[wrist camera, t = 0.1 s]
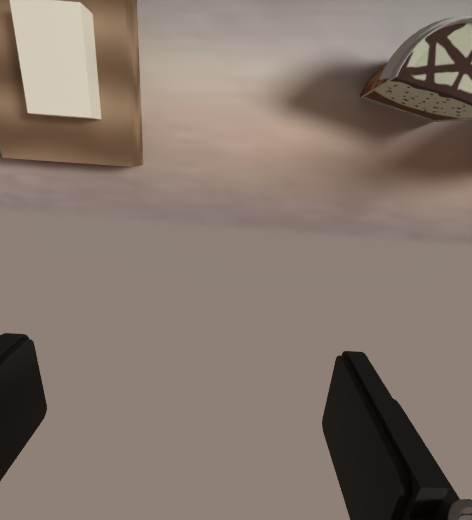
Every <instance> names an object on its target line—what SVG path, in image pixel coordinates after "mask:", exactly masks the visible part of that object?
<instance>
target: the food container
mask: <svg viewBox="0 0 472 520" xmlns="http://www.w3.org/2000/svg"><path fill="white" fill-rule="evenodd" d="M360 98H363V99H366V100H369V101H372V102H375V103H378V104H381V105H384V106H387V107H390V108H393V109H396V110H399V111H402V112H406V113H409V114H412V115H415V116H418V117H421V118H424V119H427V120H430V121H433V122H440V121H459V120H472V15H466V16H459V17H453V18H448V19H444V20H441V21H438V22H435V23H432V24H430V25H428V26H426V27H424V28H422V29H420V30H419V31H418V32H416V33H415V34H413V35H412V36H411V37H409V38H408V39H407V40H406V41H405V42H404V43H403V44H402V45H401V46H400V47H399V48H398V49H397V51H396V52H395V53H394V54H393V56H392V57H391V58H390V60H389V62H388V63H387V65H385V66H384V67H383V68H381V69H380V70H379V71H378V72H377V73H376V74H375V75H374V76H373V77H372V78H371V79H370V80H369V82H368V83H367V84H366V86H365V88H364V89H363V92H362V94H361V96H360Z"/></svg>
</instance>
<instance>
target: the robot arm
mask: <svg viewBox="0 0 472 520" xmlns="http://www.w3.org/2000/svg"><path fill="white" fill-rule="evenodd" d="M46 411H47V405H46V400H45V395H44V390H43V385H42V381H41V376H40V371H39V366H38V361H37V356H36V351H35V346H34V342H33V341H32V340H30V339H29V337H28V336H27V335H25V334H10V333H5V334H2V335H0V481H1V479H2V478H3V476H4V475H5V474H6V472H7V470H8V469H9V468H10V466H11V465H12V463H13V462H14V461H15V459H16V458H17V456H18V455H19V453H20V452H21V451H22V449H23V448H24V446H25V445H26V443H27V442H28V440H29V439H30V438H31V436H32V435H33V433H34V432H35V430H36V429H37V428H38V426H39V425H40V423H41V422H42V420H43V419H44V417H45V414H46ZM322 427H323V432H324V436H325V439H326V442H327V445H328V449H329V451H330V455H331V458H332V462H333V465H334V468H335V471H336V474H337V478H338V481H339V484H340V487H341V491H342V494H343V497H344V500H345V504H346V507H347V510H348V513H349V517H350V520H472V500H471V499H461V500H460V499H459V497H458V496H457V494H456V492H455V491H454V489H453V488H452V486H451V485H450V483H449V481H448V480H447V478H446V477H445V475H444V473H443V472H442V470H441V469H440V467H439V466H438V464H437V462H436V461H435V459H434V458H433V456H432V455H431V453H430V451H429V450H428V448H427V447H426V446H425V444H424V442H423V440H422V439H421V437H420V436H419V434H418V433H417V431H416V429H415V428H414V426H413V425H412V423H411V422H410V420H409V419H408V417H407V415H406V414H405V412H404V411H403V409H402V408H401V406H400V405H399V403H398V402H397V401H396V400H394V399H393V398H392V397H391V395H390V393H389V392H388V390H387V388H386V387H385V385H384V384H383V382H382V381H381V379H380V377H379V376H378V374H377V373H376V371H375V369H374V367H373V366H372V365H371V363H370V361H369V360H368V358H367V356H366V355H365V354H364V353H363V352H351V351H344V352H343V353H342V356H337V358H336V361H335V366H334V370H333V375H332V379H331V384H330V388H329V393H328V397H327V402H326V406H325V410H324V415H323V420H322Z"/></svg>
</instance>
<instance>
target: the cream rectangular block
mask: <svg viewBox="0 0 472 520" xmlns="http://www.w3.org/2000/svg"><path fill="white" fill-rule="evenodd" d="M10 6H11V12H12V18H13V24H14V31H15V37H16V43H17V49H18V55H19V62H20V68H21V74H22V80H23V86H24V93H25V99H26V105H27V111H28V113H30V114H37V115H45V116H59V117H72V118H86V119H100V120H101V109H100V97H99V85H98V73H97V61H96V49H95V37H94V25H93V14H92V13H91V12H90V11H89V10H88V9H87V8H86V7H85V6H84V5H83V4H82V3H80V2H71V1H59V0H10Z"/></svg>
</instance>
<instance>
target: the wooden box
mask: <svg viewBox="0 0 472 520" xmlns="http://www.w3.org/2000/svg"><path fill="white" fill-rule="evenodd" d="M59 1H71V2H80V3H82V4H83V5H84V6H85V7H86V8H87V9H88V10H89V11H90V12H91V13H92V14H93V25H94V37H95V49H96V61H97V73H98V85H99V97H100V109H101V120H100V119H86V118H72V117H59V116H45V115H37V114H30V113H28V111H27V105H26V99H25V93H24V86H23V80H22V74H21V68H20V62H19V55H18V49H17V43H16V37H15V31H14V24H13V18H12V12H11V6H10V0H0V148H1V153H2V158H13V159H27V160H42V161H56V162H70V163H85V164H99V165H114V166H128V167H134V166H139V165H143V146H142V122H141V97H140V72H139V48H138V23H137V0H59Z"/></svg>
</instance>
